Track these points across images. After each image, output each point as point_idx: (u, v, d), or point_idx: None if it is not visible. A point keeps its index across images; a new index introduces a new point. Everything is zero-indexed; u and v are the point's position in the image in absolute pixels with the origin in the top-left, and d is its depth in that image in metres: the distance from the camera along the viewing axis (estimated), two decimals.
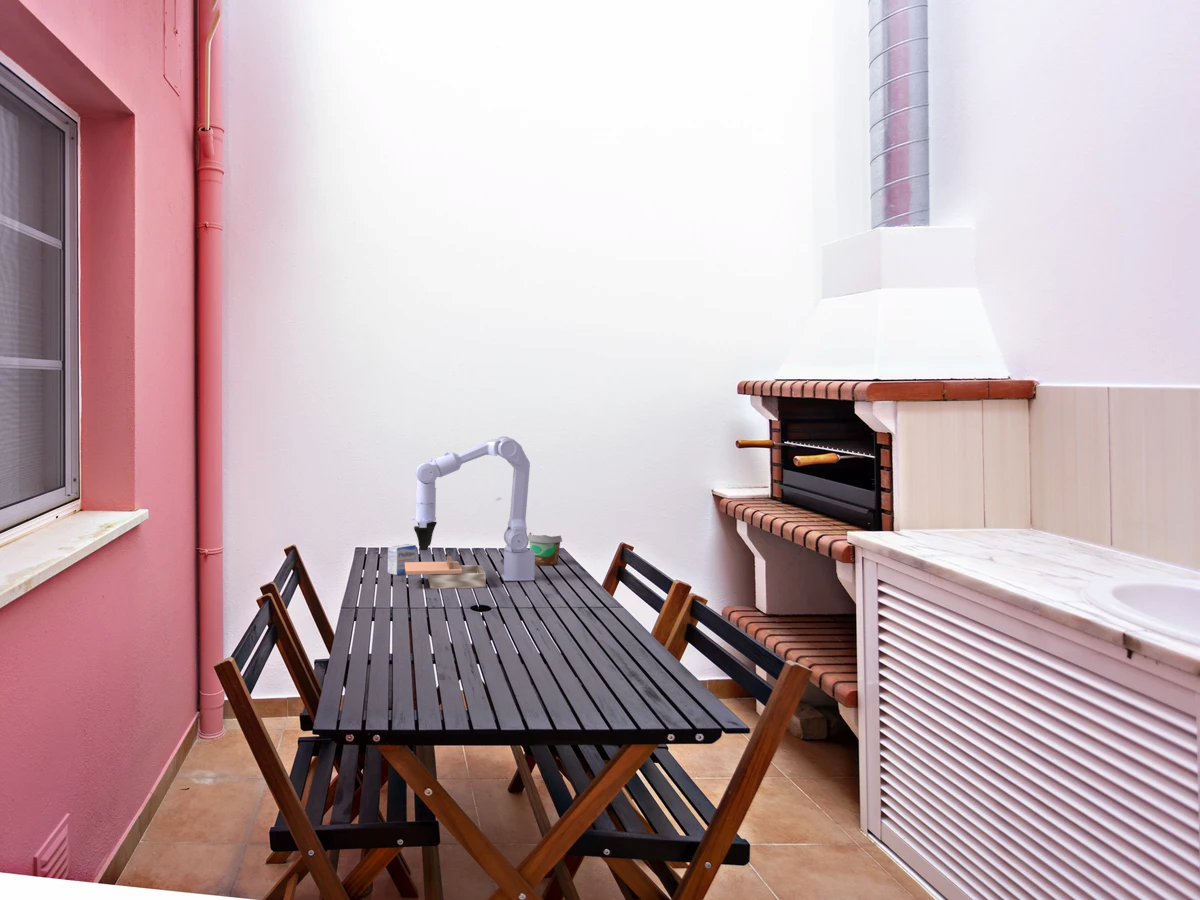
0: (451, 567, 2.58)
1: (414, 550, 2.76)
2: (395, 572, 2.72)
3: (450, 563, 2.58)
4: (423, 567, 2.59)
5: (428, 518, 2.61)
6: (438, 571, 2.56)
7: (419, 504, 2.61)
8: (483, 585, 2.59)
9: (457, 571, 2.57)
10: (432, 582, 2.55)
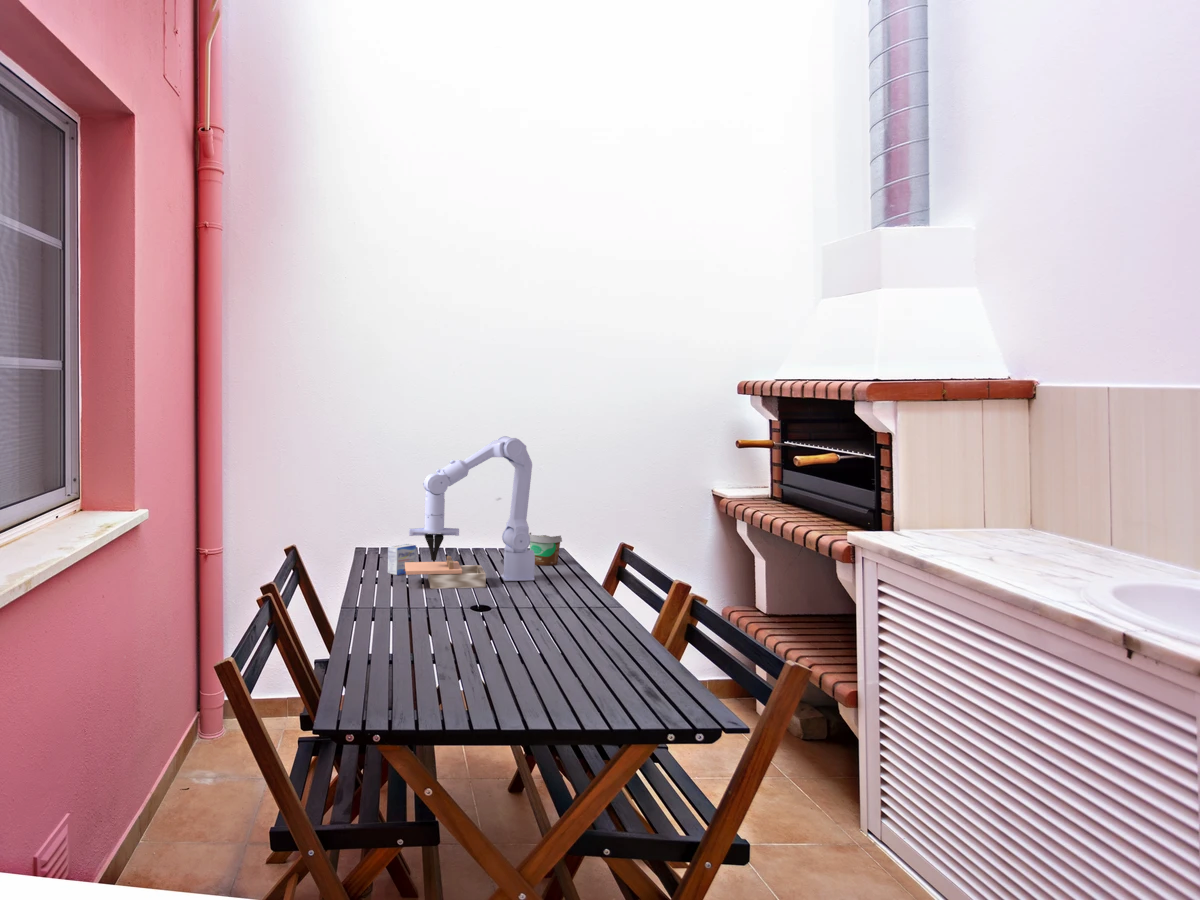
0: (451, 567, 2.58)
1: (414, 550, 2.76)
2: (395, 572, 2.72)
3: (450, 563, 2.58)
4: (423, 567, 2.59)
5: (425, 529, 2.59)
6: (438, 571, 2.56)
7: None
8: (483, 585, 2.59)
9: (457, 571, 2.57)
10: (432, 582, 2.55)
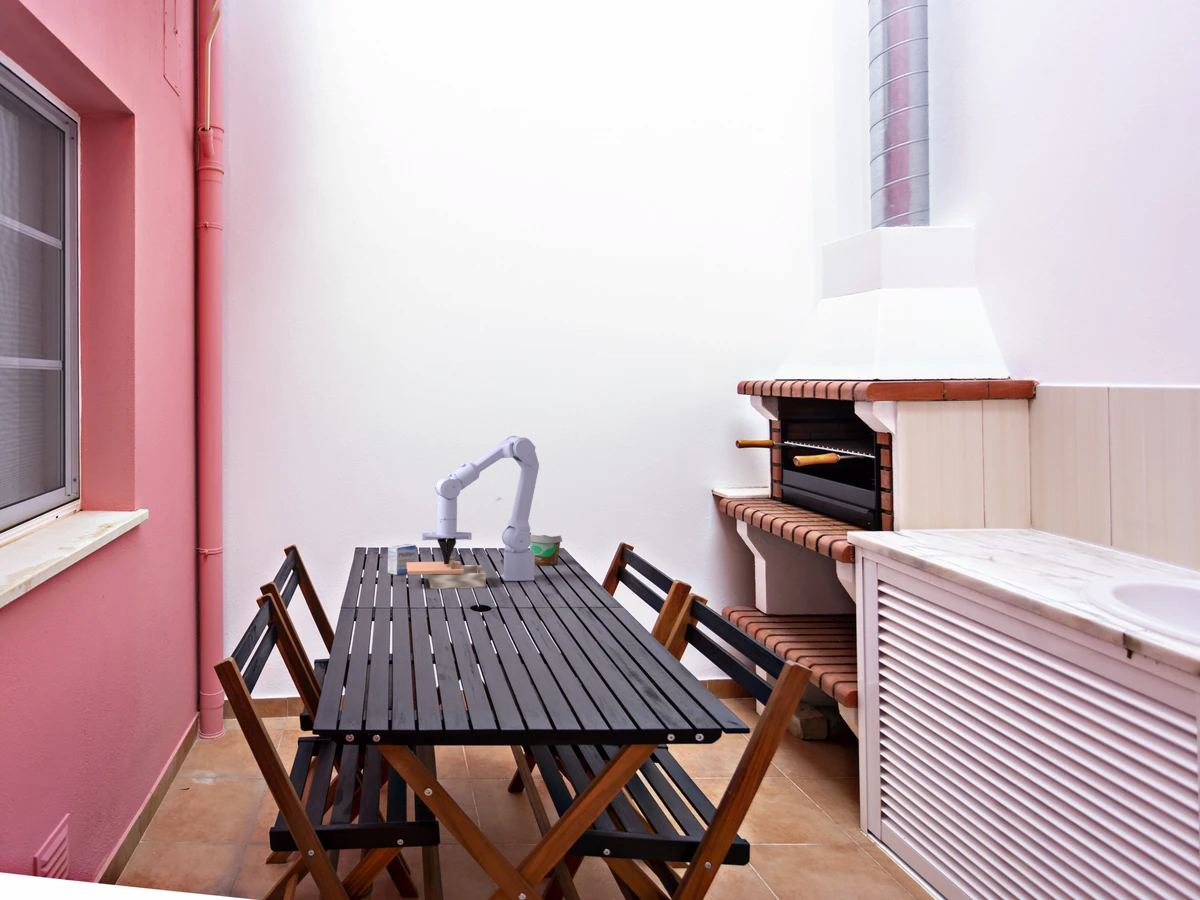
0: (453, 567, 2.58)
1: (414, 550, 2.76)
2: (395, 572, 2.72)
3: (452, 563, 2.58)
4: (425, 567, 2.59)
5: (438, 533, 2.60)
6: (440, 571, 2.56)
7: None
8: (483, 585, 2.59)
9: (459, 571, 2.57)
10: (432, 582, 2.55)
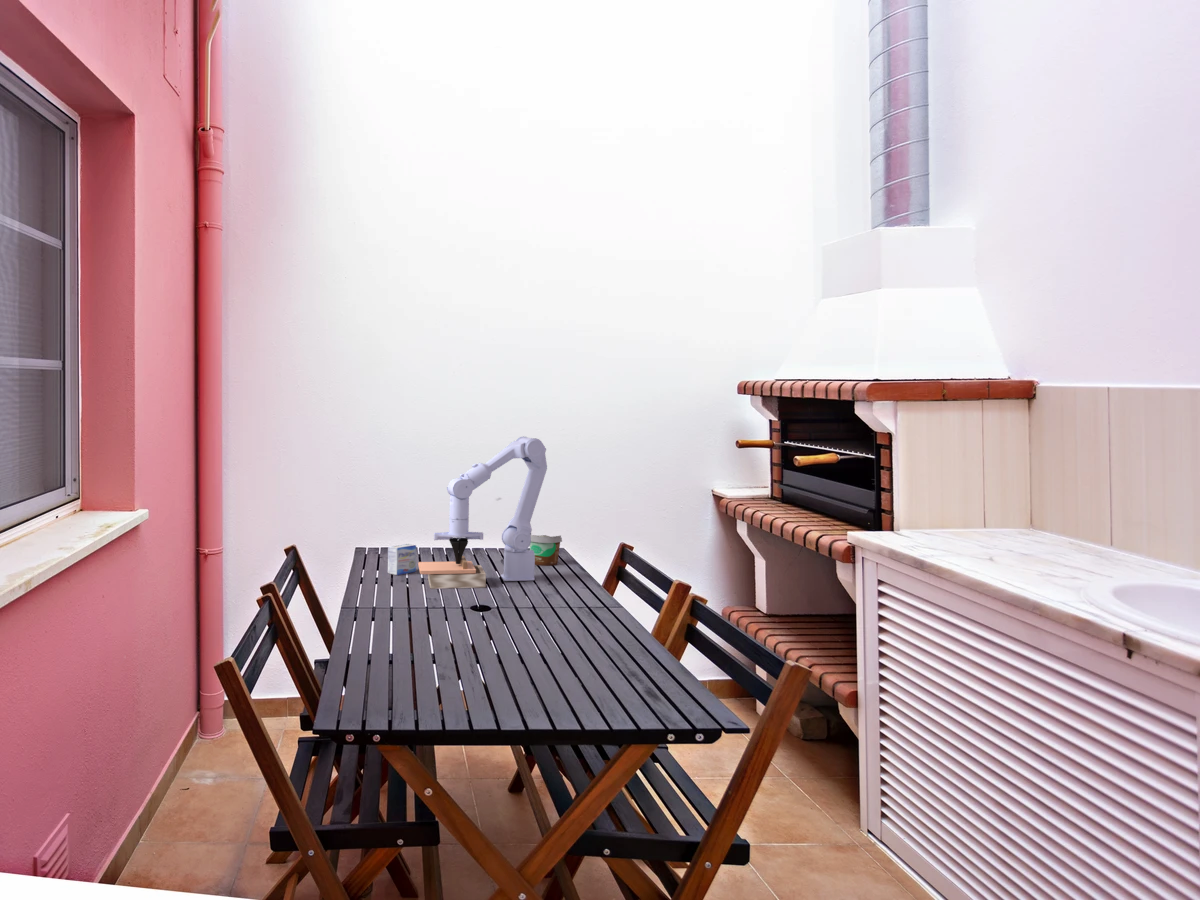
0: (465, 567, 2.59)
1: (414, 550, 2.76)
2: (395, 572, 2.72)
3: (464, 563, 2.59)
4: (437, 567, 2.60)
5: (450, 533, 2.61)
6: (452, 571, 2.57)
7: None
8: (483, 585, 2.59)
9: (471, 571, 2.58)
10: (432, 582, 2.55)
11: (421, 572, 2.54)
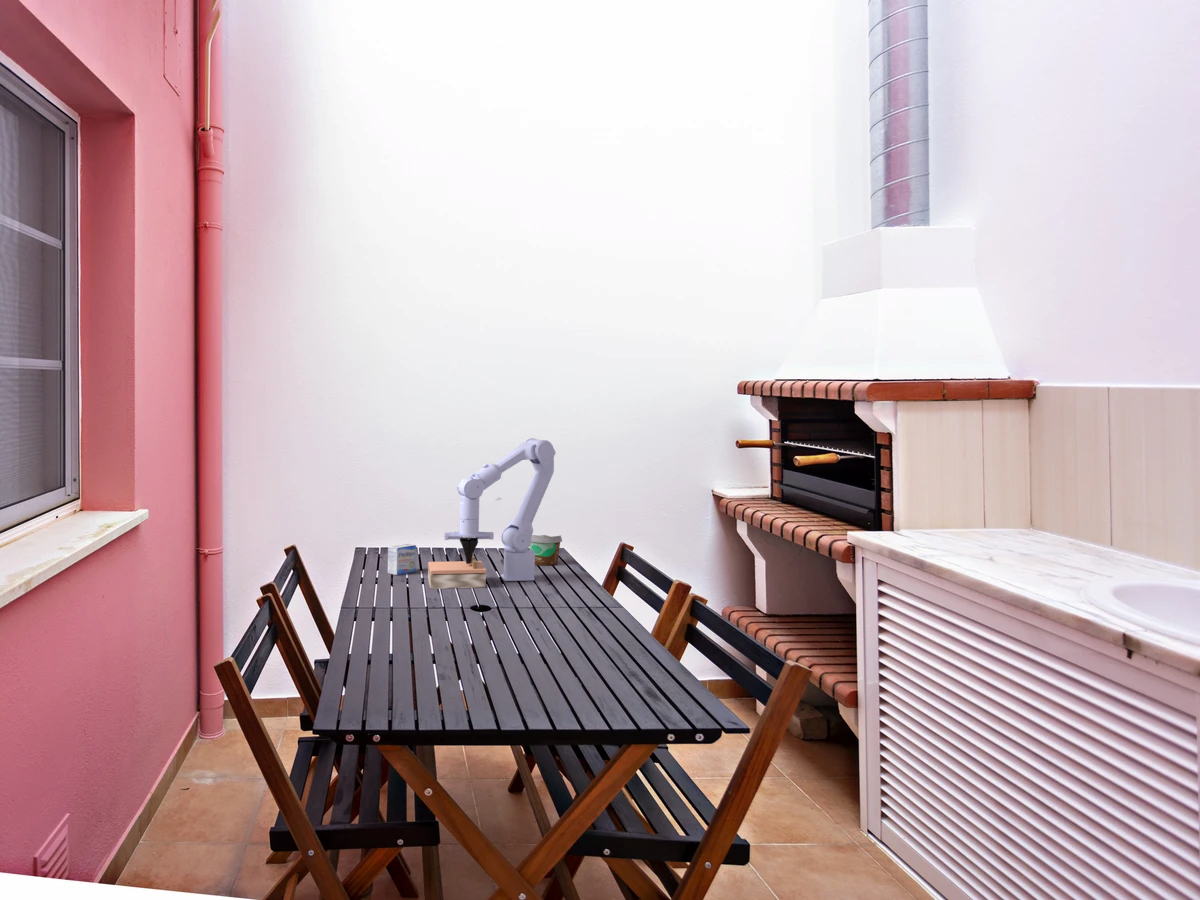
0: (475, 567, 2.60)
1: (414, 550, 2.76)
2: (395, 572, 2.72)
3: (474, 563, 2.60)
4: (447, 567, 2.61)
5: (460, 533, 2.62)
6: (462, 571, 2.57)
7: None
8: (483, 585, 2.59)
9: (481, 571, 2.59)
10: (432, 582, 2.55)
11: (431, 572, 2.55)
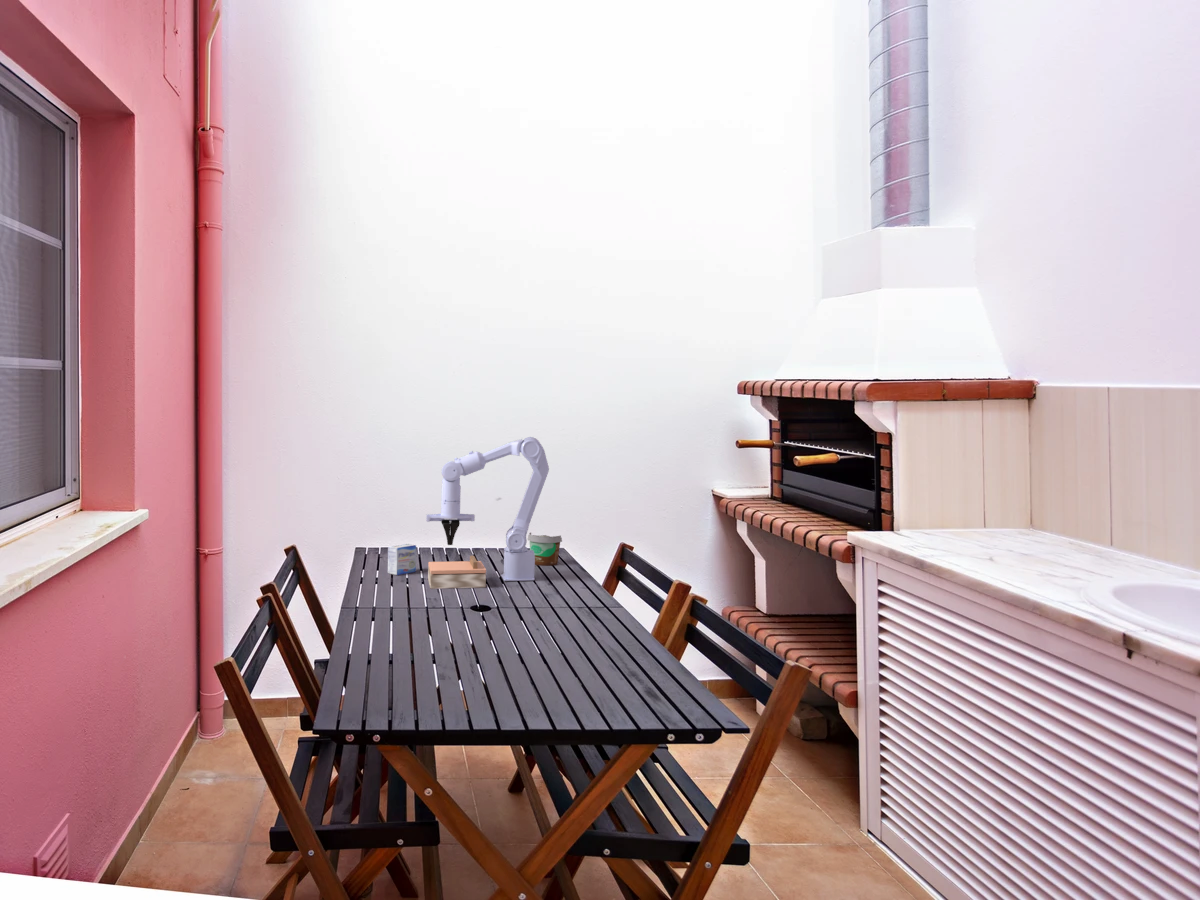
0: (475, 567, 2.60)
1: (414, 550, 2.76)
2: (395, 572, 2.72)
3: (474, 563, 2.60)
4: (447, 567, 2.61)
5: (442, 514, 2.67)
6: (462, 571, 2.57)
7: None
8: (483, 585, 2.59)
9: (481, 571, 2.59)
10: (432, 582, 2.55)
11: (431, 572, 2.55)
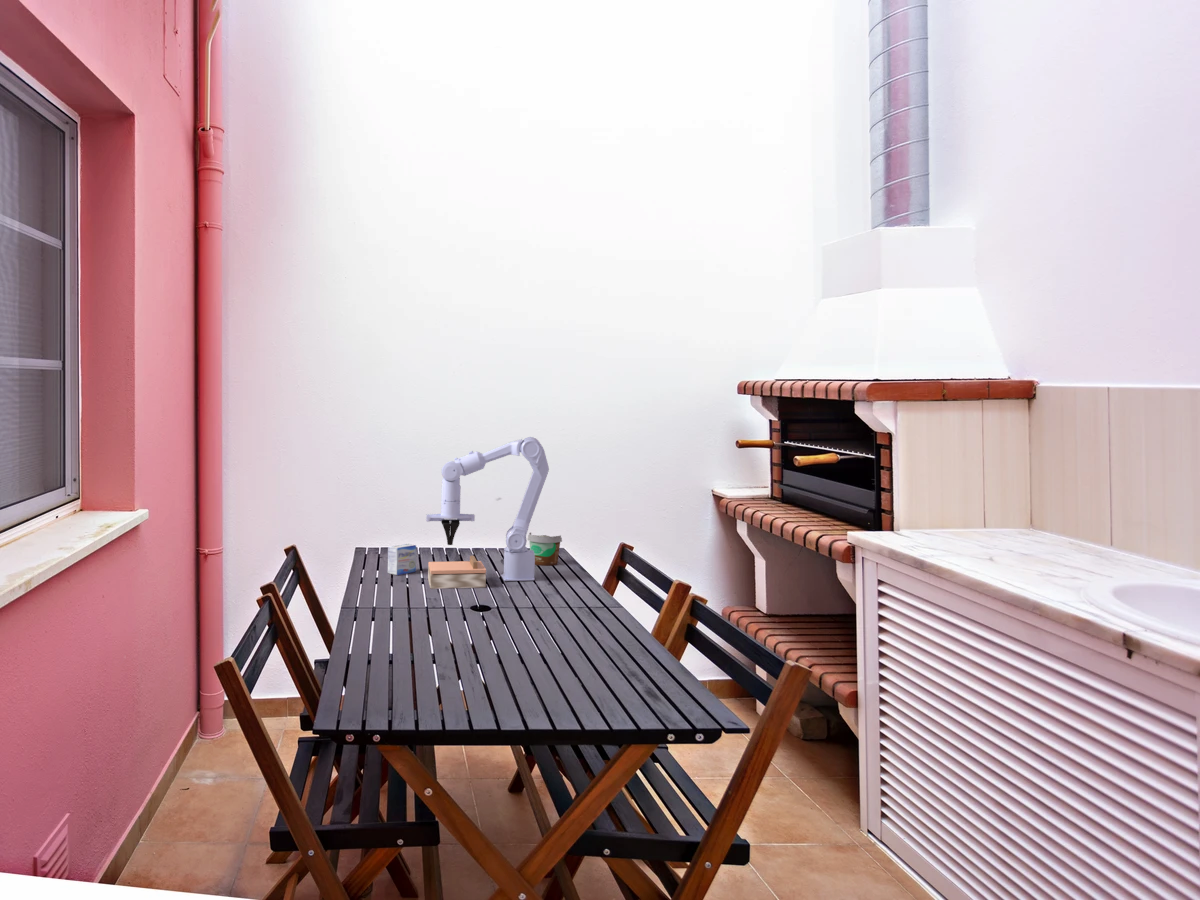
0: (475, 567, 2.60)
1: (414, 550, 2.76)
2: (395, 572, 2.72)
3: (474, 563, 2.60)
4: (447, 567, 2.61)
5: (442, 514, 2.67)
6: (462, 571, 2.57)
7: None
8: (483, 585, 2.59)
9: (481, 571, 2.59)
10: (432, 582, 2.55)
11: (431, 572, 2.55)
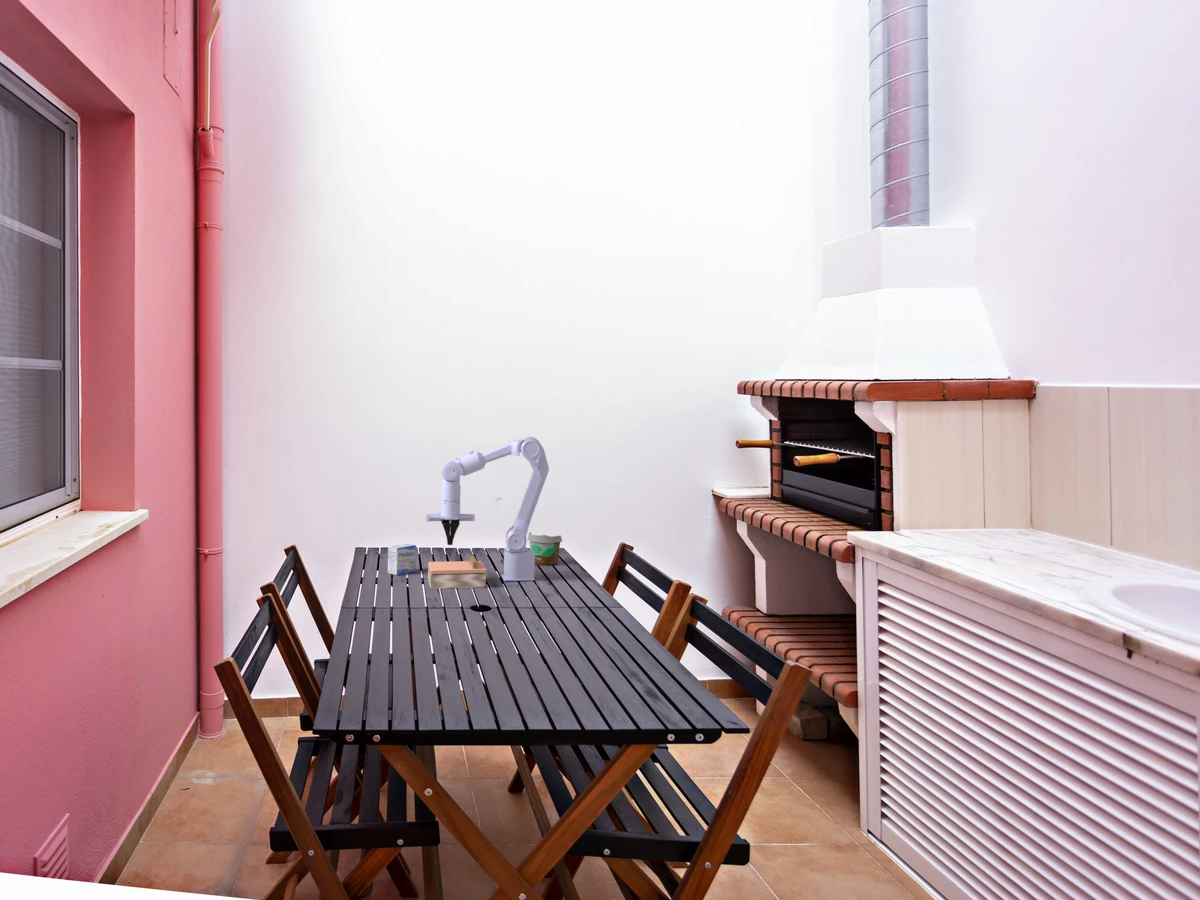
0: (475, 567, 2.60)
1: (414, 550, 2.76)
2: (395, 572, 2.72)
3: (474, 563, 2.60)
4: (447, 567, 2.61)
5: (442, 514, 2.67)
6: (462, 571, 2.57)
7: None
8: (483, 585, 2.59)
9: (481, 571, 2.59)
10: (432, 582, 2.55)
11: (431, 572, 2.55)
